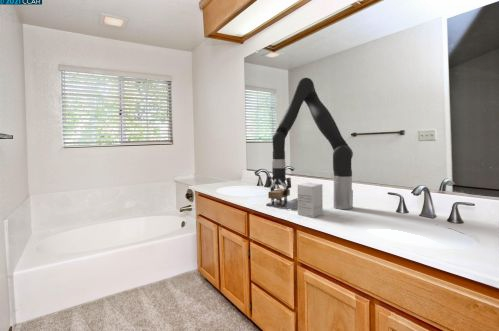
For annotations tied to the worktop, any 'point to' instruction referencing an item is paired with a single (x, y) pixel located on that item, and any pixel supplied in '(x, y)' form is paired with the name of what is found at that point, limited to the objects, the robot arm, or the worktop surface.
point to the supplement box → (310, 199)
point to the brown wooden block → (277, 194)
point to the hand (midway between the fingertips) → (279, 195)
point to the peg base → (278, 202)
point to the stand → (292, 204)
